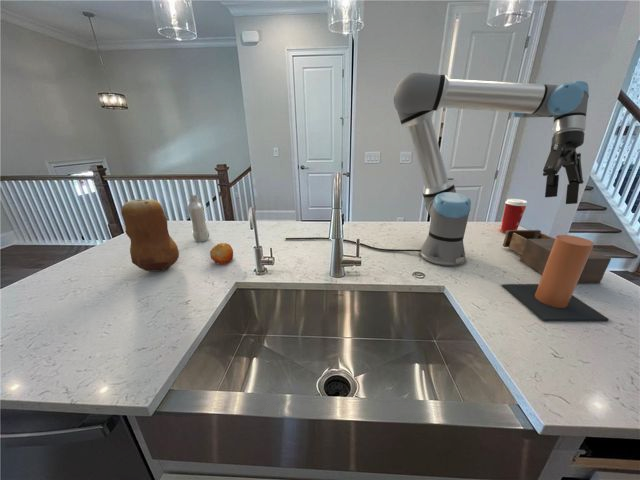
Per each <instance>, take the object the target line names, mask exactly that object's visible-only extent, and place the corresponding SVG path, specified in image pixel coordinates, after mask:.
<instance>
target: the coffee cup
mask: <svg viewBox="0 0 640 480" xmlns="http://www.w3.org/2000/svg"><path fill="white" fill-rule="evenodd" d="M504 203H505V205H504V211H503V215H502V221H501V225H500V232H501V233H502V234H505V232H506V231H507V230H519V229H518V228H519V226H520V223H521V221H522V218H523V215H524V213H525V210H526V207H527V206H528V201H527V200H525V199H519V198H507V199H506V201H505V202H504Z"/></svg>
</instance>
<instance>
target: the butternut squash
mask: <svg viewBox="0 0 640 480" xmlns="http://www.w3.org/2000/svg"><path fill="white" fill-rule="evenodd" d="M120 213H121V216H122V219H123V222H124V226H125V235H127V237H128V238H129V239H130V247H129V253H130V258H131V263H132V264H134V266H136V267H138V268H139V269H141V270H143V271H146V272H154V271H158V272H163V271H164V270H168V269H169V268H170V267H171V266H174V264H175V263H176V262H177V261H178V259H179V256H180V252H179V248H178V245H177V242H176V241H175V240H174V239H173V237H172V236H171V235H170V233H169V229H168V228H169V227H168V219H167V217H166V216H167V215H166V213H165V210H164V208H163V206H162V204H161V203H160V202H159V201H158V200H156V199H152V198H151V199H140V198H138V199H137V198H136V199H131V200H129V201H126V202H125V203H124V204H123V205H122V207H121V212H120Z"/></svg>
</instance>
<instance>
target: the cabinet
mask: <svg viewBox="0 0 640 480" xmlns="http://www.w3.org/2000/svg"><path fill="white" fill-rule="evenodd" d="M555 239H556V238H554V239H527V241H526V244H525V247H524V250H523V253H522V256H521V255H520V256H521V257H520V260H519V261H520V262H522V263H523V264H524V265H526V266H528V267H529V268H531V269H532V270H534V271H535V272H537V273H539V274H540V275H542V274H543V271H544V269H545V266H546V263H547V261H548V258H549V255H550V253H551V250H552V247H553V244H554V242H555ZM611 261H612V258H611V257H608V256H606V255H605V254H602V253H599V252H597V251H595V250H593V249H592V250H591V253H590V255H589V257H588V260H587V262H586V264H585V267H584V269H583V271H582V273H581V276H580V278H579V280H578V283H577V284H601V282H602V280H603V278H604V275H605V273H606V270H608V267H609V265H610V263H611Z"/></svg>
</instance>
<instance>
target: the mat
mask: <svg viewBox="0 0 640 480" xmlns="http://www.w3.org/2000/svg"><path fill="white" fill-rule="evenodd" d="M538 285H539V283H517V284H516V283H507V284H505V283H504V284H502V285H501V286H502V288H504V289H505V290H506V291H508V293H510V295H512V296H513V297H514V298H515V299H516V300H518V301H519V302H520V303H521V304H522V305H523V306H525V307H526V308H527V309H529V311H531V312H532V313H533V314H534V315H535V316H536V317H538V318H539V319H540V320H541V321H543V322H608V321H609V318H608V317H606V316H605V315H603V314H601V312H598V311H597V310H596V309H594V308H593V307H592V306H589V305H588V304H586V303H585V302H583V301H582V300H580V299H579V298H577V297H576V296H574V295H573V294H572V296H571V299H570V301H569V303H568V306H567V307H565V308H557V307H552V306H549V305H546V304H544V303H542V302H540V301H539V300H537V299H536V297H535V293H536V290H537V288H538Z"/></svg>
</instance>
